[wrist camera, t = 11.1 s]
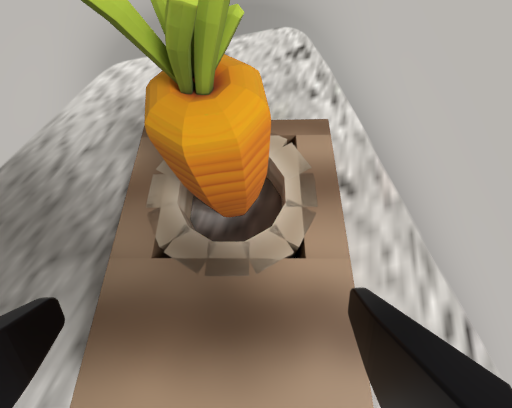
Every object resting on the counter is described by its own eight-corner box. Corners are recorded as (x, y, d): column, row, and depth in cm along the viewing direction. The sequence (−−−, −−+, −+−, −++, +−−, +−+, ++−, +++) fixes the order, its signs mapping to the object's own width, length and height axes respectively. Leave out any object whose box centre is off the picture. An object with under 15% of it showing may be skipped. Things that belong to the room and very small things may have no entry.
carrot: (195, 234, 18) (-36, -30, 4) (215, 177, 20) (102, -127, 6) (261, 249, 17) (243, -8, 3) (275, 188, 19) (297, -125, 5)
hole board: (353, 406, 13) (376, 430, 11) (105, 401, 14) (65, 422, 11) (319, 144, 21) (328, 119, 18) (160, 146, 21) (145, 122, 19)
